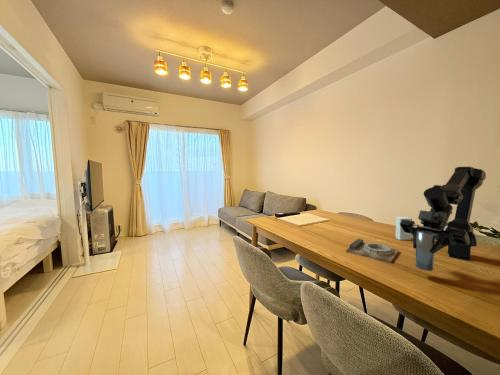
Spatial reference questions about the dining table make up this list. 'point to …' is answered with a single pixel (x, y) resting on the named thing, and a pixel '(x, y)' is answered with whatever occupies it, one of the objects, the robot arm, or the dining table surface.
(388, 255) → the jig
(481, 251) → the dining table surface
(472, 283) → the dining table surface
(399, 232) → the skincare box
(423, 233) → the dark grey cylinder
